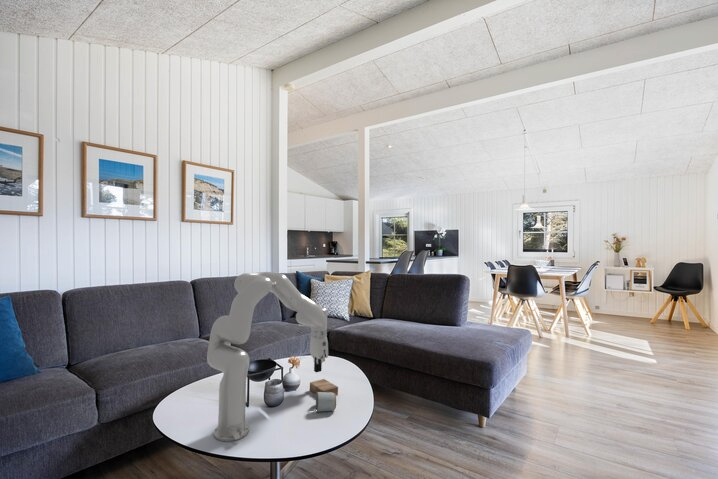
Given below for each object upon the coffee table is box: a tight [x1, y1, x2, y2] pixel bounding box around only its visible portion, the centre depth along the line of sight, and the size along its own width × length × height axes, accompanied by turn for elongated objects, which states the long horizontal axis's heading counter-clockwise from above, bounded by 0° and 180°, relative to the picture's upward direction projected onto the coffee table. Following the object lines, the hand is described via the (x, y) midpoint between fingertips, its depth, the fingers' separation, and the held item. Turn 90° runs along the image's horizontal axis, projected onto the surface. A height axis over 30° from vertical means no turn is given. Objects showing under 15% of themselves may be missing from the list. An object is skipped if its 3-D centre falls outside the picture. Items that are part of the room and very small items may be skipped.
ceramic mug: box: [315, 392, 337, 413], centre depth 160 cm, size 11×8×8 cm
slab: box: [309, 378, 339, 396], centre depth 173 cm, size 4×8×12 cm
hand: (317, 371), depth 177 cm, fingers closed
